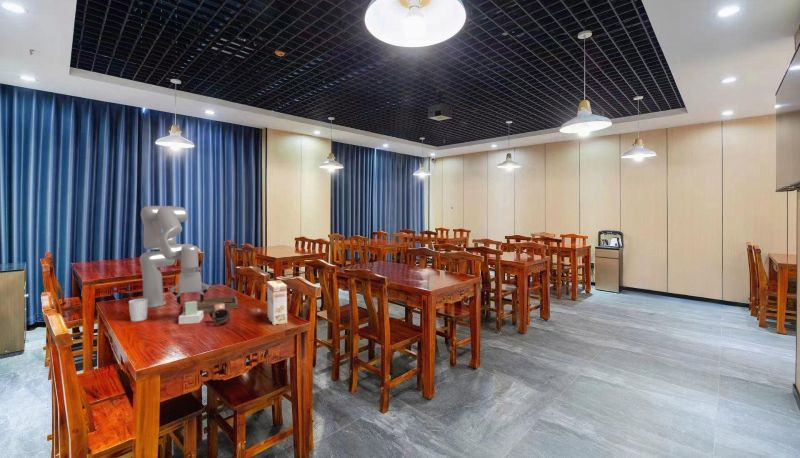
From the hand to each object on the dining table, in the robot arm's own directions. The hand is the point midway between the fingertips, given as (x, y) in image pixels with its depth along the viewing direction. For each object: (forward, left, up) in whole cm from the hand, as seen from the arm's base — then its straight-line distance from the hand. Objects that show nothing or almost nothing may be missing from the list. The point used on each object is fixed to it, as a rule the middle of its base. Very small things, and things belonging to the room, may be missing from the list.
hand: (190, 303), depth 183 cm
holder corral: (-20, +9, -9) cm, 24 cm away
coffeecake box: (+20, +39, -9) cm, 45 cm away
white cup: (-13, -24, -9) cm, 29 cm away
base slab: (0, 0, -9) cm, 9 cm away
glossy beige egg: (-6, +13, -9) cm, 17 cm away
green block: (+1, 0, -5) cm, 5 cm away
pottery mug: (+11, +13, -9) cm, 19 cm away
